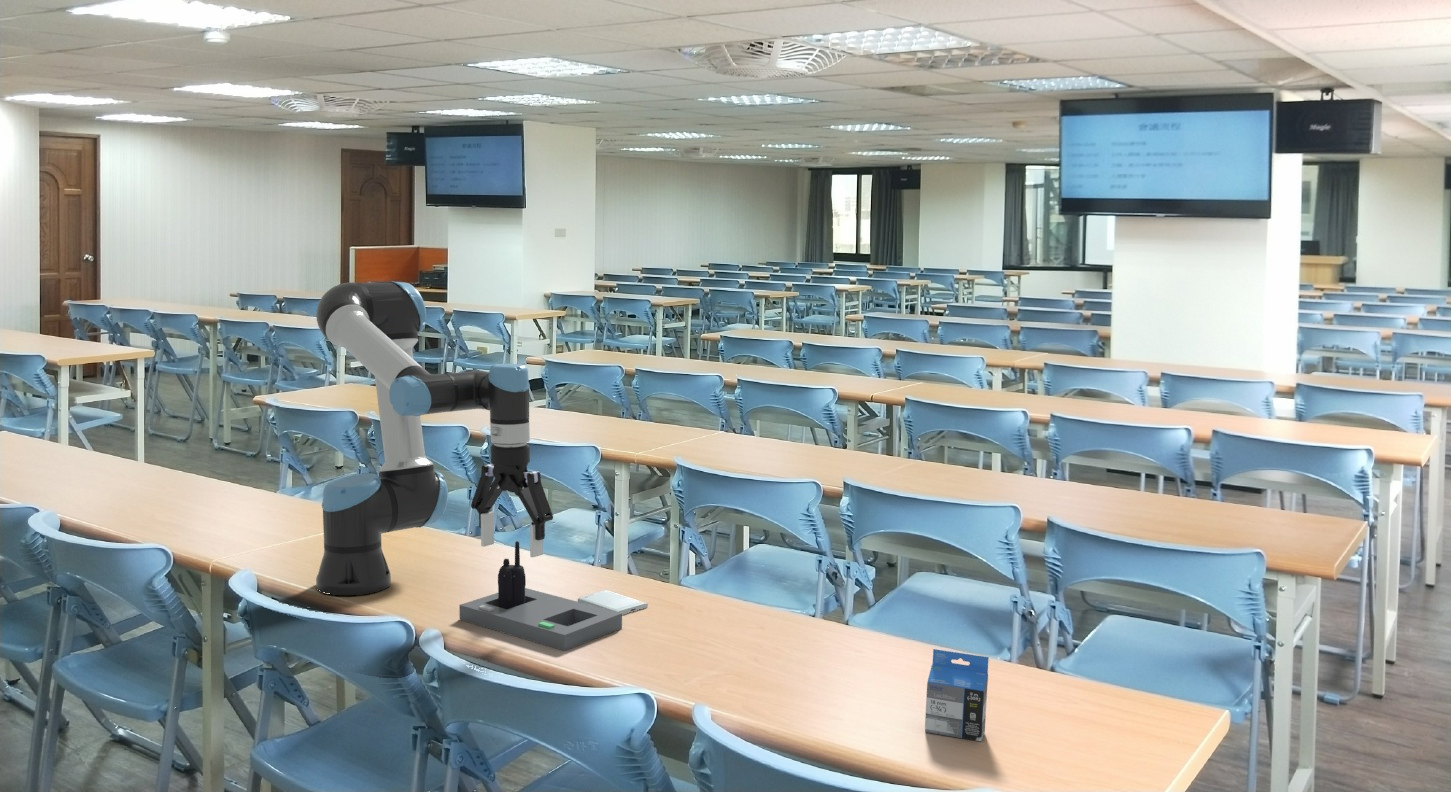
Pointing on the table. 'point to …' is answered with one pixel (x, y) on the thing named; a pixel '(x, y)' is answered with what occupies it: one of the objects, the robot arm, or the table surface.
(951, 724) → the label tape cartridge
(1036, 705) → the table surface
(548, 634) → the charging base
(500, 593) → the two-way radio
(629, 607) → the hard drive
